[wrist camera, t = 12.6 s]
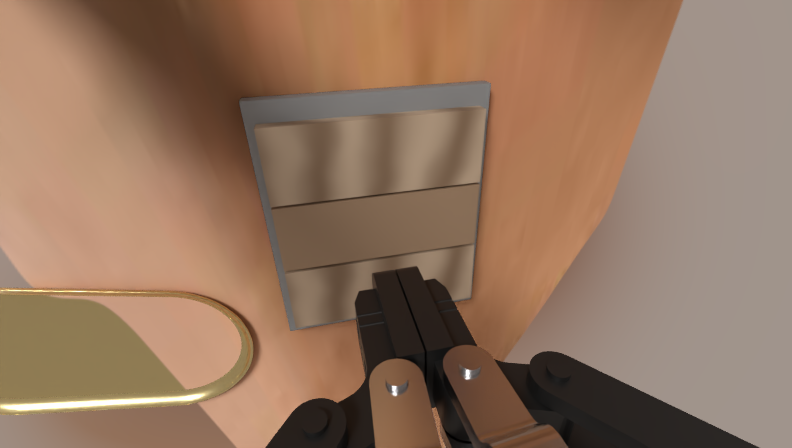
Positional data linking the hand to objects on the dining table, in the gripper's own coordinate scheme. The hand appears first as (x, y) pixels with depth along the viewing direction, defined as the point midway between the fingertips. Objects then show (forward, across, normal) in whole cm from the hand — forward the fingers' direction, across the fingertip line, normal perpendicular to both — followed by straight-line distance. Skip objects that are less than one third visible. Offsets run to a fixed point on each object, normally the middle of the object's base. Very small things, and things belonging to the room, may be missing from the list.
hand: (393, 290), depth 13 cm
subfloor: (+29, -4, +13) cm, 32 cm away
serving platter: (+30, +30, +26) cm, 50 cm away
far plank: (+27, -4, +21) cm, 35 cm away
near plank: (+27, -4, +5) cm, 28 cm away
